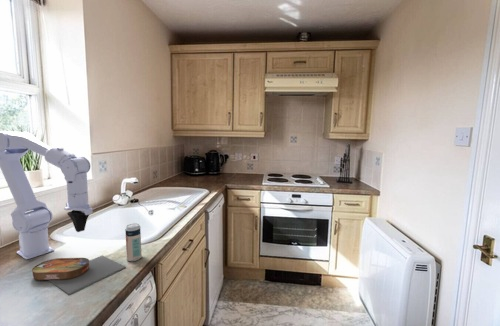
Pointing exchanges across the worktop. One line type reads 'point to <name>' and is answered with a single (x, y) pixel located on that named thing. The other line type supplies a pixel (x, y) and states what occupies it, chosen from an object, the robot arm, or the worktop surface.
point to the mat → (89, 275)
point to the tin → (60, 268)
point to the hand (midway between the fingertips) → (80, 230)
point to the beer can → (133, 242)
